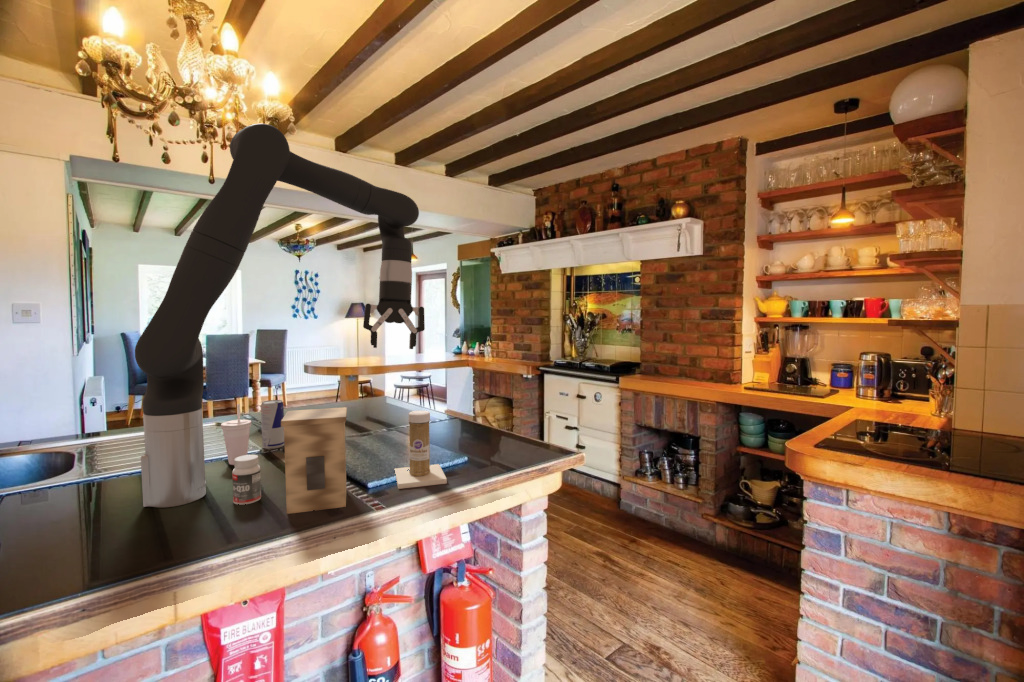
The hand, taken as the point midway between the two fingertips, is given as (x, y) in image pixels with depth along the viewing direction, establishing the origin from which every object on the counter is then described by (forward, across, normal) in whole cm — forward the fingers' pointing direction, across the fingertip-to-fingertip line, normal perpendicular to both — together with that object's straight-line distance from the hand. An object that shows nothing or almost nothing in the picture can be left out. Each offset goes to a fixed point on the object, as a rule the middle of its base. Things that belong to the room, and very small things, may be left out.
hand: (393, 348), depth 116 cm
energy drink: (+28, -28, +22) cm, 45 cm away
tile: (+28, +5, -14) cm, 31 cm away
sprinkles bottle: (+27, +5, -14) cm, 31 cm away
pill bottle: (+30, -28, -16) cm, 44 cm away
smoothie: (+29, -34, +10) cm, 46 cm away
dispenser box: (+29, -15, -21) cm, 39 cm away
